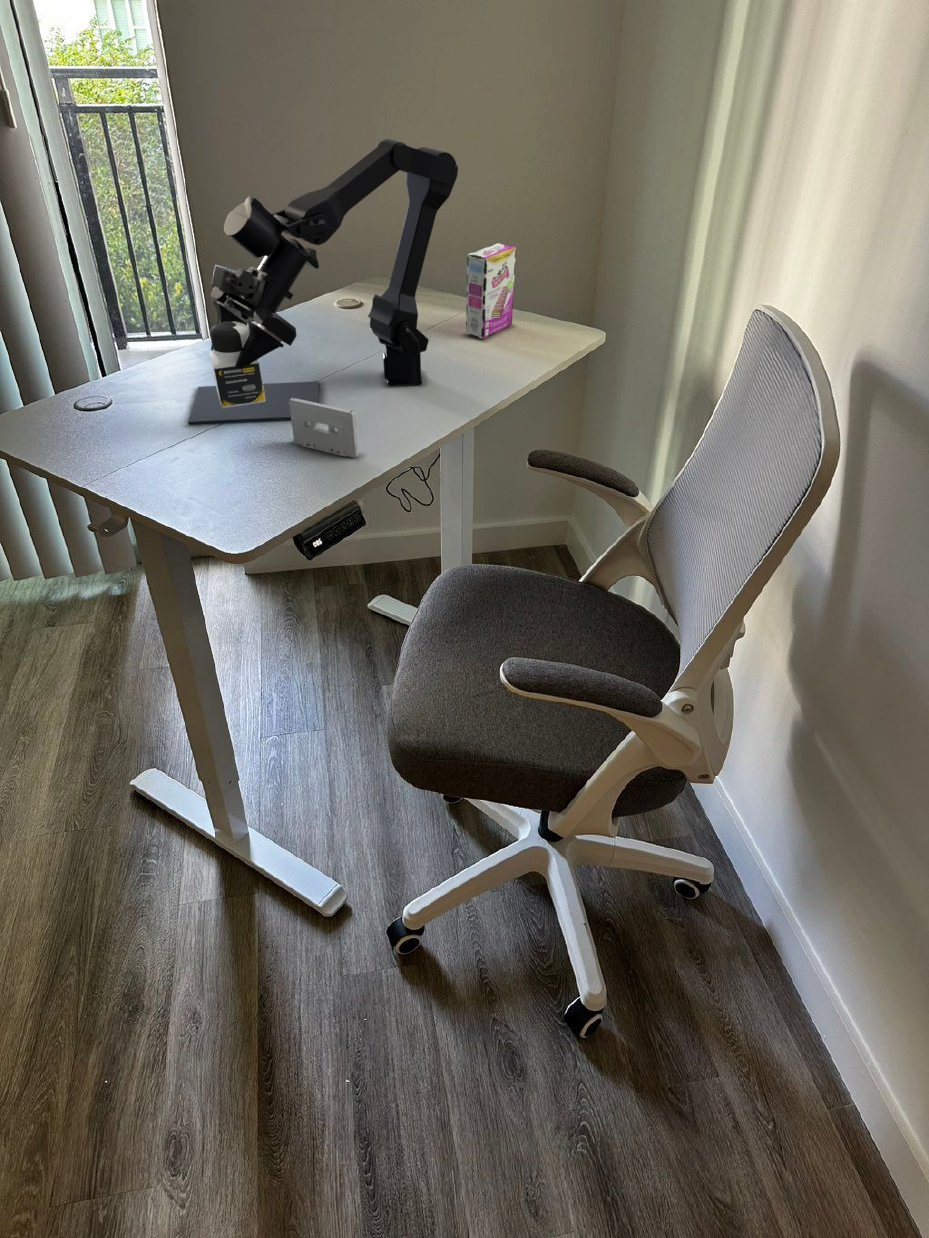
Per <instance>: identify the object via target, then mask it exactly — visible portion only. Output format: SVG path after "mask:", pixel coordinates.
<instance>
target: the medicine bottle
mask: <svg viewBox="0 0 929 1238" xmlns="http://www.w3.org/2000/svg"><path fill="white" fill-rule="evenodd" d="M216 324H217V323H216ZM216 324H215V325H213V326H212V327H211V328H210V329H209V336H210V341H211V346H212V347H213V350H212V351H211V350H209V359H210V362H211V368H212V373H213V377H214V383H215V386H216V388H217V392H218V396H219V400H220V403H221V407H222V408H227V407H234V406H241V405H248V404H255V403H262V402H265V394H264V388H263V384H264V383H263V378H262V372H261V365H260V361H259V359H257V360H256V361H254V362H253V363H251V364H249V365H248V366H246V367H245V368H243V369H239V368H237V367H236V366H235V364H236V362H237V359H238V357H239V355H240V353H241V351H242V349H243V347H244V345H245V342H246V340H247V338H248V336H249V327H248V325H247V326H246V325H245V324H243V323H240V322H236V321H227V322H222V323H219V324H217V325H216Z"/></svg>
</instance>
